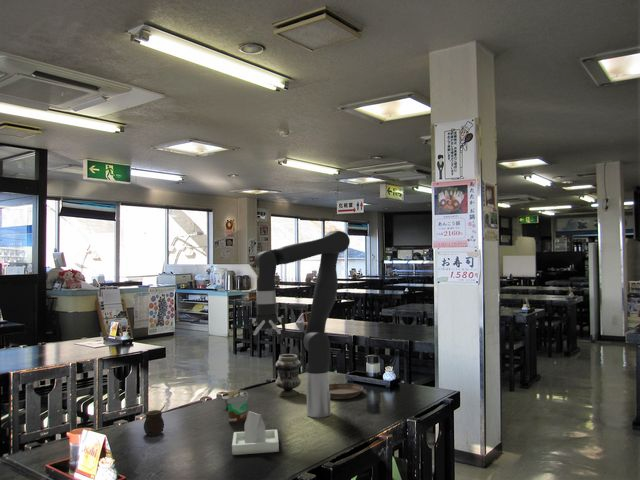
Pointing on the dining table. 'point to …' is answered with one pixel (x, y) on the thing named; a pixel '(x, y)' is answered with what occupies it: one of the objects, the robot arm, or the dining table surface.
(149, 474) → the dining table surface
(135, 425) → the dining table surface
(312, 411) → the robot arm
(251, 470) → the dining table surface
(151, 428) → the mate gourd
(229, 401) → the food container
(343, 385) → the plant saucer
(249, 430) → the tea bag
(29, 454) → the dining table surface
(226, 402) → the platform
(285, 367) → the apothecary jar
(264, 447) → the tray
